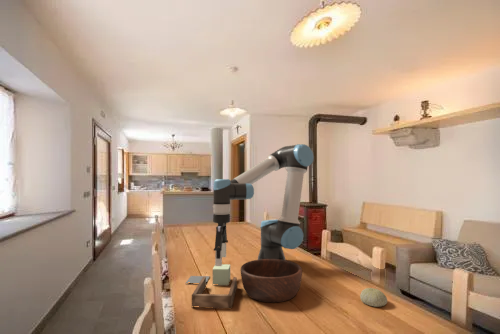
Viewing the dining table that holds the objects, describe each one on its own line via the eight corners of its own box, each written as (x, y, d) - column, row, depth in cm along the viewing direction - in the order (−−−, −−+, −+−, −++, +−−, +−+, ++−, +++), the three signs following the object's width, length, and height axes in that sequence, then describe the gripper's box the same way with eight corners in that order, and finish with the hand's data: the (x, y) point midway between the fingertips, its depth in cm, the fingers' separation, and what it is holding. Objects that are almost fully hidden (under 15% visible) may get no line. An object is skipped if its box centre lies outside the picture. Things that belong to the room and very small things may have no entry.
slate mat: (209, 277, 136) (209, 276, 136) (205, 284, 127) (205, 283, 127) (190, 277, 136) (190, 275, 136) (185, 284, 127) (185, 283, 127)
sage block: (230, 279, 132) (230, 264, 133) (228, 285, 125) (228, 269, 126) (215, 279, 133) (215, 264, 133) (212, 285, 126) (212, 269, 126)
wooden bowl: (242, 281, 130) (242, 258, 131) (297, 281, 130) (297, 258, 130) (238, 306, 105) (238, 277, 106) (307, 306, 105) (306, 278, 105)
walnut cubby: (236, 287, 123) (236, 277, 123) (231, 308, 103) (231, 295, 103) (203, 287, 123) (203, 276, 123) (191, 307, 104) (191, 295, 104)
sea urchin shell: (375, 306, 101) (363, 284, 106) (364, 315, 106) (352, 293, 111) (394, 301, 104) (381, 280, 110) (382, 310, 109) (370, 289, 115)
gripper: (217, 210, 142) (217, 253, 141) (207, 217, 117) (207, 269, 117) (232, 210, 142) (232, 254, 141) (226, 217, 117) (225, 270, 116)
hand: (221, 261), depth 129 cm, fingers open, 13 cm apart
